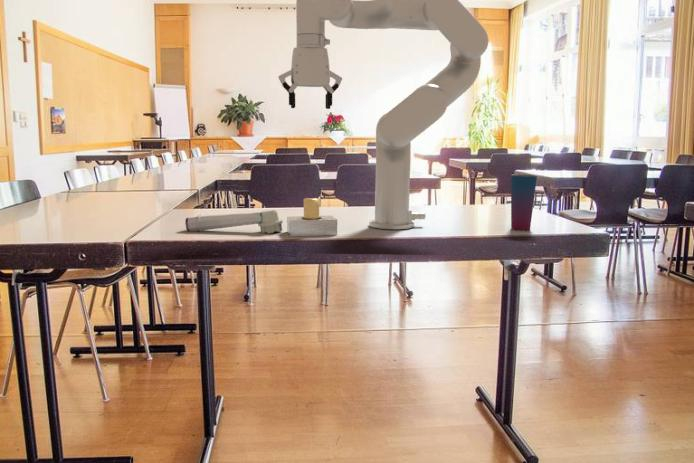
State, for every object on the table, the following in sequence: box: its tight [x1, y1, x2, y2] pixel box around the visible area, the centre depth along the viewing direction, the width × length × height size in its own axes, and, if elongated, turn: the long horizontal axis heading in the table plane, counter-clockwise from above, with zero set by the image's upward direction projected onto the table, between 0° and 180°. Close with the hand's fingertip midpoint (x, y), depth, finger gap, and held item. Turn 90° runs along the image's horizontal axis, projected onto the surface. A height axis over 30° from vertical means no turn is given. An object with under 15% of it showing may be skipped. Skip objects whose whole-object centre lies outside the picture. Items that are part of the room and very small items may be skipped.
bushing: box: [303, 197, 320, 220], centre depth 153 cm, size 4×4×9 cm
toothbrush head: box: [185, 208, 284, 234], centre depth 155 cm, size 5×7×25 cm
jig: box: [286, 215, 338, 237], centre depth 154 cm, size 12×7×4 cm, turn 104°
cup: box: [510, 173, 538, 231], centre depth 162 cm, size 7×7×15 cm
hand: (310, 108), depth 161 cm, fingers open, 9 cm apart
